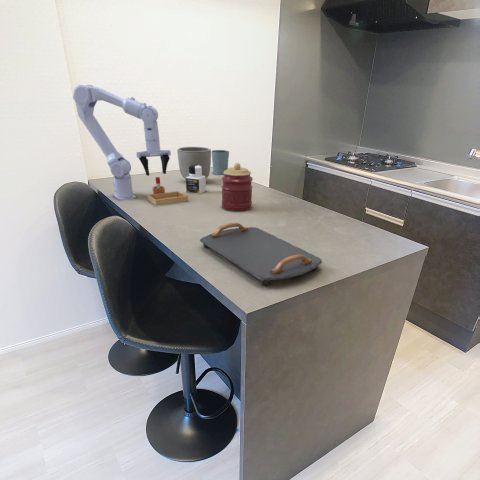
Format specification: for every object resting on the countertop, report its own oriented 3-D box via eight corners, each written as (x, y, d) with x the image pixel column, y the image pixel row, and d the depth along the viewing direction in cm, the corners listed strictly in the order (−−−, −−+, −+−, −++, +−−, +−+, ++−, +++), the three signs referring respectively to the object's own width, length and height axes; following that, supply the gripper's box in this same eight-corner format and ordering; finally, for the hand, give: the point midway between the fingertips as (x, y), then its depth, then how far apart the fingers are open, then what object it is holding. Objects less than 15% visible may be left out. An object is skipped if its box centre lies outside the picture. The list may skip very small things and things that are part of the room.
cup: (152, 196, 164) (150, 186, 161) (162, 194, 166) (161, 185, 164) (156, 198, 160) (155, 189, 158) (167, 197, 162) (166, 188, 160)
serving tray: (194, 244, 116) (193, 226, 112) (250, 232, 127) (251, 214, 124) (267, 293, 90) (268, 271, 86) (330, 272, 101) (334, 252, 97)
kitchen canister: (257, 207, 152) (260, 163, 143) (237, 213, 145) (238, 167, 135) (236, 201, 160) (236, 159, 150) (215, 206, 152) (214, 162, 142)
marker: (156, 195, 163) (154, 177, 159) (160, 194, 164) (158, 176, 159) (158, 196, 162) (156, 178, 157) (162, 195, 163) (160, 177, 158)
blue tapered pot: (210, 174, 205) (209, 151, 199) (214, 171, 214) (213, 149, 207) (227, 175, 204) (227, 152, 197) (230, 172, 212) (230, 150, 206)
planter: (194, 176, 199) (192, 145, 190) (218, 181, 191) (217, 149, 182) (172, 182, 187) (169, 149, 178) (196, 187, 179) (195, 153, 170)
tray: (147, 200, 157) (147, 195, 156) (178, 196, 164) (178, 191, 163) (156, 206, 150) (155, 200, 149) (188, 201, 157) (187, 196, 156)
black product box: (186, 192, 170) (184, 166, 164) (193, 189, 176) (192, 163, 169) (199, 194, 168) (198, 167, 161) (206, 191, 174) (205, 164, 167)
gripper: (138, 142, 141) (143, 177, 149) (172, 140, 148) (175, 174, 155) (133, 140, 146) (137, 174, 154) (165, 138, 153) (168, 171, 160)
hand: (156, 174), depth 155 cm, fingers open, 7 cm apart
